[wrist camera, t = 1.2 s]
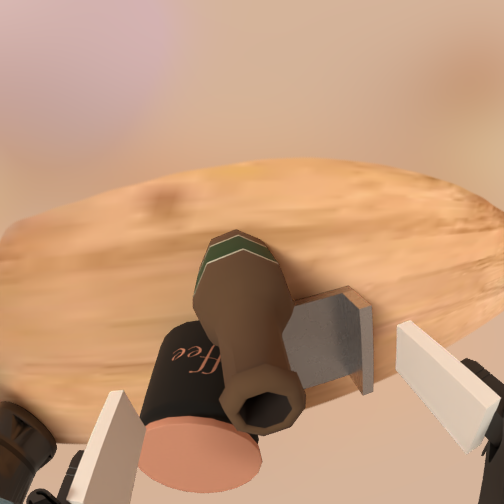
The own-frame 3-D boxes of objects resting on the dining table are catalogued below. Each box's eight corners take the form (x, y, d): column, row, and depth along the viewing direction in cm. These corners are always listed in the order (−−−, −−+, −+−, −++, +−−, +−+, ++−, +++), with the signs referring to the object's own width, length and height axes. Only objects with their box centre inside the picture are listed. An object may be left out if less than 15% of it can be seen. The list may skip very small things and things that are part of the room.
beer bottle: (267, 293, 35) (337, 454, 12) (201, 294, 35) (181, 466, 11) (270, 228, 34) (373, 325, 10) (200, 227, 33) (157, 333, 10)
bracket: (268, 391, 39) (276, 422, 32) (248, 312, 36) (253, 339, 29) (354, 365, 39) (373, 391, 33) (348, 285, 36) (371, 305, 30)
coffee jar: (260, 343, 37) (290, 452, 19) (214, 396, 38) (217, 502, 21) (189, 299, 35) (166, 401, 17) (147, 359, 36) (113, 464, 18)
